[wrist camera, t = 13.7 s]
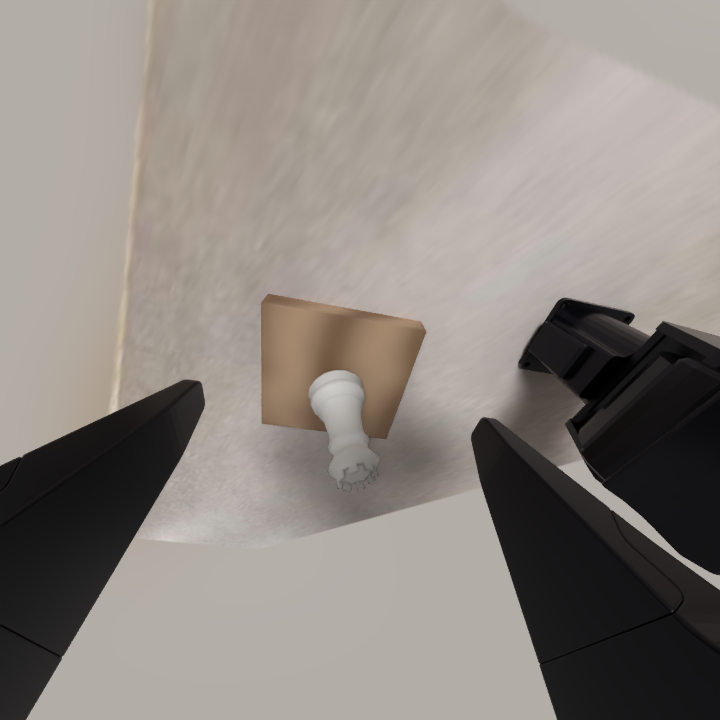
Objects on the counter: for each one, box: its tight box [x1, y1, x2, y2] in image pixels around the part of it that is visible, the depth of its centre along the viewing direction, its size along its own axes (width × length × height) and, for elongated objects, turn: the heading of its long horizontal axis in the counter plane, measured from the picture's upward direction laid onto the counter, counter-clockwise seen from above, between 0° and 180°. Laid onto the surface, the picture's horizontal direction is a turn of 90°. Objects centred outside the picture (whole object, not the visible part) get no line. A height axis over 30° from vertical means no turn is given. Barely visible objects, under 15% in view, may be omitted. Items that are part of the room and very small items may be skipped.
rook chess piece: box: [308, 370, 379, 492], centre depth 19 cm, size 4×4×8 cm
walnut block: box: [261, 294, 426, 439], centre depth 23 cm, size 12×12×2 cm
